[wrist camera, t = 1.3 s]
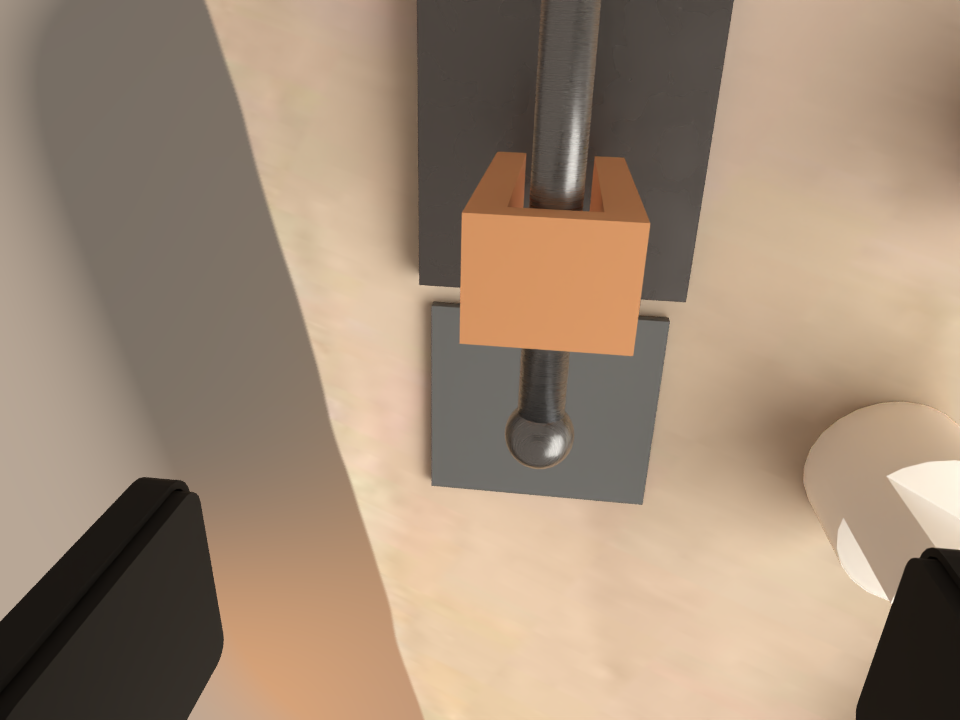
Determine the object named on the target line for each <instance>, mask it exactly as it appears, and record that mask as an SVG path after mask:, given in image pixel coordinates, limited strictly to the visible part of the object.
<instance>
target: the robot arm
mask: <svg viewBox="0 0 960 720" xmlns="http://www.w3.org/2000/svg"><path fill="white" fill-rule="evenodd" d="M223 641H224V639H223V630H222V624H221V618H220V612H219V607H218V601H217V596H216V589H215V584H214V578H213V572H212V566H211V560H210V554H209V549H208V543H207V537H206V531H205V525H204V520H203V514H202V509H201V502H200V499H199V496H198V495H197V494H196V493H194V492H190V491H189V488H188V486H187V485H186V483H185V482H183V481H181V480H170V479H158V478H146V477H143V478H139V479H137V480H136V481H135V482H133V483H132V484H131V485H130V486H129V487H128V489H127V490H126V491H125V492H124V493H123V494H122V495H121V496H120V497H119V498H118V499H117V500H116V501H115V502H114V503H113V504H112V505H111V506H110V507H109V508H108V509H107V511H106V512H105V513H104V514H103V515H102V516H101V517H100V518H99V519H98V520H97V521H96V522H95V523H94V524H93V525H92V526H91V527H90V528H89V529H88V530H87V532H85V534H84V535H83V536H82V537H81V538H80V539H79V540H78V541H77V542H76V543H75V544H74V545H73V546H72V547H71V548H70V549H69V550H68V551H67V552H66V554H64V556H63V557H62V558H61V559H60V560H59V561H58V562H57V563H56V564H55V565H54V566H53V567H52V568H51V569H50V570H49V571H48V572H47V573H46V575H44V576H43V577H42V579H41V580H40V581H39V582H38V583H37V584H36V585H35V586H34V587H33V588H32V589H31V590H30V591H29V592H28V593H27V594H26V595H25V596H24V597H23V598H22V600H21V601H20V602H19V603H18V604H17V605H16V606H15V607H14V608H13V609H12V610H11V611H10V612H9V613H8V614H7V615H6V616H5V617H4V618H3V620H2V621H0V720H187V719H188V717H189V715H190V713H191V711H192V709H193V708H194V706H195V704H196V702H197V700H198V698H199V697H200V695H201V693H202V691H203V690H204V688H205V686H206V684H207V682H208V681H209V679H210V677H211V675H212V673H213V671H214V670H215V668H216V666H217V664H218V662H219V660H220V657H221V653H222V649H223ZM856 720H960V550H956V549H945V548H934V547H932V548H927V549H926V550H925V551H924V552H923V553H922V554H921V556H920V558H911V559H910V560H909V561H908V562H907V564H906V566H905V569H904V572H903V574H902V577H901V580H900V583H899V586H898V589H897V592H896V595H895V597H894V600H893V603H892V606H891V609H890V612H889V615H888V618H887V620H886V623H885V626H884V629H883V632H882V635H881V638H880V640H879V643H878V646H877V649H876V652H875V655H874V658H873V661H872V663H871V666H870V669H869V672H868V675H867V678H866V681H865V684H864V686H863V689H862V692H861V695H860V698H859V701H858V704H857V708H856Z"/></svg>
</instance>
